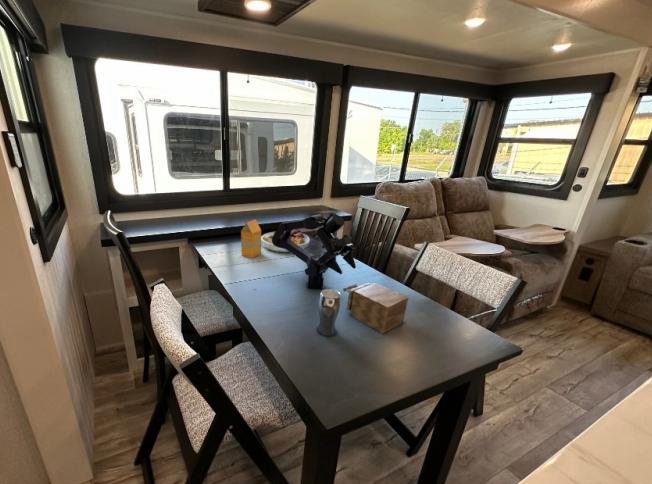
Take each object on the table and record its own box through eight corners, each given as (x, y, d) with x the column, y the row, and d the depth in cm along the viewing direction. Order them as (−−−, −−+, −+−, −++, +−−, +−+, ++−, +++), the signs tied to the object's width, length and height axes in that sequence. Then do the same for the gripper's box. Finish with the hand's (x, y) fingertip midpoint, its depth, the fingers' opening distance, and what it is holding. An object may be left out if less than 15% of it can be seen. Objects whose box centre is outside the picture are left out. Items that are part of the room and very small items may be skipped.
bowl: (294, 257, 175) (295, 244, 172) (251, 247, 190) (251, 235, 187) (316, 243, 199) (317, 232, 196) (276, 235, 213) (277, 224, 210)
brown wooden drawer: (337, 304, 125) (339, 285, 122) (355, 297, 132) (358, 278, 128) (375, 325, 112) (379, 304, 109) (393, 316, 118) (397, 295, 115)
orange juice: (261, 253, 180) (261, 220, 172) (252, 258, 173) (252, 223, 166) (250, 251, 184) (250, 217, 176) (241, 255, 177) (240, 221, 169)
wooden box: (350, 315, 120) (353, 290, 116) (370, 306, 127) (374, 282, 123) (382, 333, 109) (387, 307, 105) (403, 322, 116) (408, 297, 112)
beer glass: (337, 327, 112) (342, 290, 106) (334, 338, 106) (339, 300, 100) (318, 323, 114) (322, 287, 108) (314, 334, 108) (318, 296, 102)
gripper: (324, 232, 119) (347, 266, 115) (353, 224, 130) (374, 255, 126) (309, 248, 127) (329, 280, 123) (337, 239, 138) (356, 268, 134)
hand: (348, 270), depth 126 cm, fingers open, 9 cm apart
